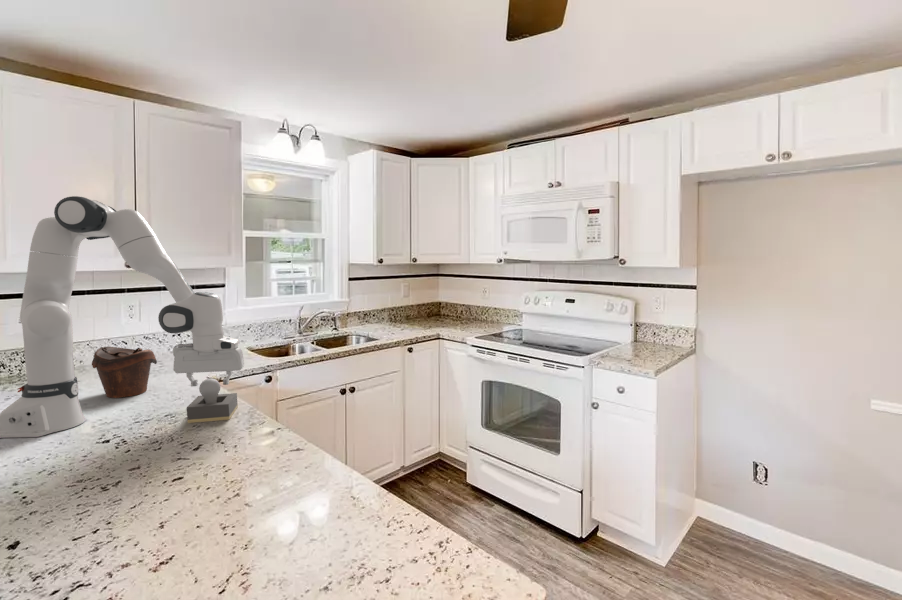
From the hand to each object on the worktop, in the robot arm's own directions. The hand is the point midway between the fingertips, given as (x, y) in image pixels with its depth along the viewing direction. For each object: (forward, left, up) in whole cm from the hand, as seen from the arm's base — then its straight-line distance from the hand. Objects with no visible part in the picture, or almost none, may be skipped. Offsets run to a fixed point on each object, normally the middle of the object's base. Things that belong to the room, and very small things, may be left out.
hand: (210, 385), depth 148 cm
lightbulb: (0, +1, -9) cm, 9 cm away
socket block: (0, 0, -10) cm, 10 cm away
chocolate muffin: (-38, +35, -10) cm, 53 cm away
